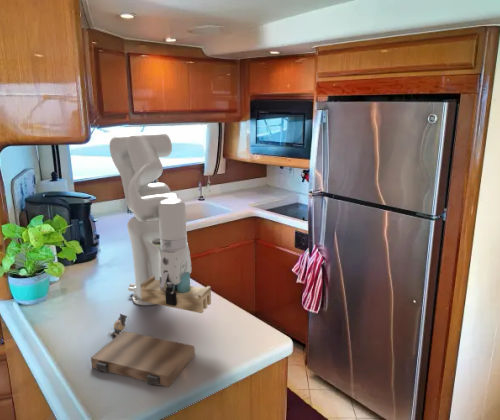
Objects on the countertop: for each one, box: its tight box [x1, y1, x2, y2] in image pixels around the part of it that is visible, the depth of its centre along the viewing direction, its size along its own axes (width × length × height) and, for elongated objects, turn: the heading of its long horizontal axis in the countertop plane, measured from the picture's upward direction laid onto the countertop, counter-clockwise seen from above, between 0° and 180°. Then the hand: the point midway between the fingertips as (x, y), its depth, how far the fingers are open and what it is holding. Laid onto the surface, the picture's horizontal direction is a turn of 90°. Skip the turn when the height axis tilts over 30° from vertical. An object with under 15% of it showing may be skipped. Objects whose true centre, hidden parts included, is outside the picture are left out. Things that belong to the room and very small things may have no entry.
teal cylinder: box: [176, 272, 191, 293], centre depth 118 cm, size 4×4×5 cm
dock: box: [90, 330, 196, 388], centre depth 113 cm, size 24×15×3 cm, turn 70°
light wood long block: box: [141, 276, 212, 314], centre depth 120 cm, size 20×6×6 cm, turn 70°
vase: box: [107, 313, 130, 337], centre depth 127 cm, size 5×5×6 cm
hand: (177, 298), depth 121 cm, fingers closed on light wood long block, 6 cm apart
